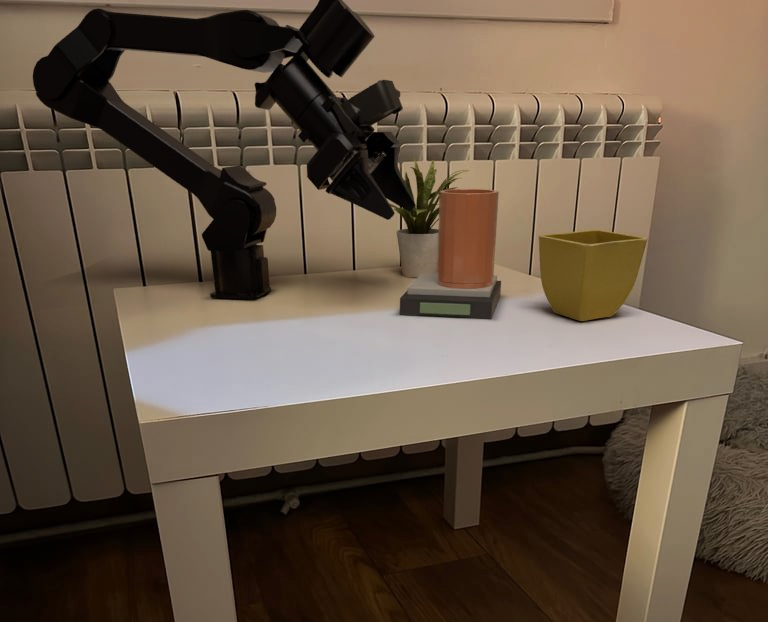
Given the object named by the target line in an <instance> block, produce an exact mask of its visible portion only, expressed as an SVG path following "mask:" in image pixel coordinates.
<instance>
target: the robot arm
mask: <svg viewBox="0 0 768 622" xmlns="http://www.w3.org/2000/svg"><path fill="white" fill-rule="evenodd" d="M375 37H376V36H375V34H374V32H373V31H372V30H371V29H370V27H369V26H368V25H367V24H366V22H365V21H364V19H362V18H361V16H360V15H359V14H358V13H357V12H355V11H354V10H352V8H350V7H349V5H348V4H347V3H345V1H344V0H318V2H317V4H316V6H315V7H314V9H313V10H312V11H311V12H310V13H309V15H308V16H307V18H306V19H305V21H304V22H303V23H302V25H300V27H299V28H297V27H294V26H292V25H289V24H286V25H285V26H281V25H280V24H279V22H277V21H276V20H275V19H273V18H271V17H269V16H266V15H263V14H261V13H259V12H256V11H253V10H249V9H241V10H240V9H239V10H233V11H227V12H220V13H216V14H212V15H209V16H206V17H199V18H194V17H193V18H192V17H182V16H181V17H179V16H169V15H168V16H167V15H156V14H155V15H153V14H142V13H131V12H129V13H128V12H118V11H117V12H115V11H111V10H108V9H103V8H93V9H91V10H90V11H88V13H86V14H85V15H84V17H83V18H82V20H81V21H80V22H79V23H78V25H77V26H76V27H75V28H74V29H73V30H72V31H69V33H68V34H66V35H65V36H64V37H63V38H62V39H60V40H59V41H58V42H56V44H54V45H53V47H52V49H51V50H50V51H49V53H48V54H47V55H45V56H43V57H41V58H39V59H38V60H37V62H36V63H35V65H34V67H33V71H32V83H33V87H34V90H35V97H37V99H38V100H39V101H40V103H41V104H43V105H44V106H45V107H47V108H49V109H50V110H52V111H55V112H57V113H58V114H60V115H63V116H65V117H67V118H69V119H71V120H74V121H77V122H80V123H83V124H85V125H88V126H91V127H94V128H97V129H99V130H101V131H103V132H104V133H105V134H107V136H110V137H111V138H113V140H115V141H117V142H118V143H120V144H121V145H122V146H124V147H125V148H127V149H128V150H130V151H131V152H133V153H134V154H135V155H137V157H139V158H141V159H142V160H144V161H145V162H146V163H148V164H150V165H151V166H152V167H154V168H155V169H157V170H158V171H159V172H161V173H163V175H165V176H167V178H170V179H171V180H172V181H174V182H175V183H177V184H178V185H179V186H181V187H182V188H184V189H185V190H187V191H188V192H189V193H191V194H192V195H193V196H195V197H196V199H197V200H198V201H199V202H200V204H201V206H202V207H203V209H204V211H206V214H208V216H209V217H210V218H211V219H212V220H211V222H209V224H208V225H207V226H206V227H205V229H204V230H203V232H202V233H201V238H202V240H203V242H204V245H205V248H206V249H207V251H209V252H210V259H211V268H212V276H213V285H214V291H212V292H210V293H209V297H210V298H216V299H218V298H219V299H241V300H255V299H258V298H260V297H262V296H263V295H265V294H267V293H269V292H270V291H272V286H271V284H270V283H271V282H270V271H269V259H268V257H267V256H265V252H264V245H263V244H262V243H264V242H265V239H266V234H267V230H268V229H270V228H271V227H272V226H273V224H274V223H275V221H276V217H277V205H276V201H275V197H274V195H273V194H272V193H271V192H270V191H269V190H268V189H267V188H265V187H266V186H267V182H266V181H263V180H259V179H258V178H255V177H254V176H253V175H252V174H251V173H250V172H249V171H247V169H246V168H245V167H243V166H242V165H238V164H237V165H233V166H224V167H222V168H221V169H220V168H219V167H216V166H215V165H213V164H212V163H210V162H209V161H207V160H206V159H205V158H203V156H201V155H199V154H198V153H196V152H195V151H194V150H193V149H190V147H188V146H186V145H185V144H183V143H182V142H181V141H179V140H178V139H176V138H175V137H174V136H172V134H170V133H168V132H167V131H165V130H164V129H162V128H161V127H160V126H158V125H157V124H155V123H154V122H153V121H151V120H150V119H148V118H147V117H146V116H144V115H143V114H141V113H140V112H138V111H137V110H136V109H134V108H133V107H131V106H130V105H129V104H128V103H126V102H125V101H124V100H123V99H122V97H121V96H120V94H118V91H117V90H116V89H115V87H114V85H112V83H111V82H110V80H111V79H112V78H113V77H114V75H115V72H116V69H117V67H118V64H119V62H120V59H121V56H122V55H123V54H124V52H125V51H133V52H144V53H145V52H146V53H155V54H167V55H169V54H170V55H181V56H190V57H191V56H193V57H204V58H207V59H210V60H213V61H216V62H219V63H222V64H226V65H229V66H232V67H235V68H239V69H242V70H247V71H252V72H257V73H258V72H259V73H263V74H265V73H271V74H270V75H269V76H268V78H267V79H266V81H264V82H258V81H256V82H255V83H254V88H255V89H254V90H255V94H254V106H255V108H257V109H262V110H266V111H269V110H271V109H272V108H273V106H274V105H275V104H276V105H277V106H278V107H279V108H280V109H281V110H282V111H283V113H284V114H285V116H286V117H288V119H289V120H290V121H291V122H292V123H293V124H294V126H295V127H296V128H297V129H298V130H299V131H300V133H299V134H298V135H297V137H298V138H299V139H300V141H302V143H304V144H305V143H307V144H309V143H310V144H311V145H312V146H313V148H314V149H315V150H316V152H315V153H314V154H313V156H312V157H311V158H310V159H309V160H308V162H307V163H306V178H307V179H308V180H309V181H310V182H311V183H312V185H313V186H314V187H315V188H316V190H318V191H321V190H325V192H326V193H327V194H329V195H333V196H336V197H338V198H340V199H342V200H344V201H346V202H348V203H350V204H354V205H355V206H357V207H360V208H362V209H364V210H366V211H368V212H370V213H372V214H374V215H376V216H379V217H381V218H383V219H384V220H387V221H389V220H391V219H392V218H393V217H394V216H395V214H396V213H395V210H394V208H393V207H391V205H390V204H391V203H390V202H392V204H394V205H397V207H399V208H404V209H405V210H407V211H409V212H410V211H412V210H413V209H414V208H415V207H416V202H414V201H415V199H414V200H413V198H412V196H411V194H410V192H409V190H408V188H407V185H406V183H405V181H404V180H405V178H404V177H403V175H402V173H401V171H400V168H399V156H400V155H399V154H400V152H401V147H400V145H401V142H400V140H398V139H397V137H396V136H395V135H394V134H393V132H392V131H375V130H376V129H375V128H374V126H373V125H375V124H377V123H378V122H380V121H382V120H383V119H386V118H388V117H389V116H391V115H397V114H398V113H400V112H401V111H403V109H404V108H403V105H402V102H401V99H400V98H401V92H400V90H399V89H397V88H396V86H395V84H394V81H393V80H389V79H381V80H380V79H379V80H377V82H374V83H373V84H371V85H369V86H368V87H366V88H365V89H363V90H361V91H360V92H358V93H356V94H355V95H352V96H351V97H350V98H349V99H348V98H347V97H341V96H337V95H336V94H335V93H334V92H333V91H332V89H331V88H330V87H329V85H327V83H326V82H325V81H324V80H323V79H322V77H321V76H320V75H319V74H318V73H317V72H316V70H315V69H314V68H313V67H312V66H311V64H310V63H309V62H308V61H310V62H311V63H312V64H313V66H314V67H315V68H316V69H317V70H318V71H319V72H320V73H321V74H322V75H324V76H325V77H326V78H328V79H330V78H331V77H332V76H333V73H334V74H335V75H336V76H338V77H339V78H343V77H344V75H346V73H347V72H348V70H349V69H350V68H351V67H352V66H353V64H354V63H355V62H356V61H357V59H358V58H359V57H360V55H361V54H362V53H363V52H365V49H366V48H367V47H368V46H369V45H370V43H372V41H373V40H374V38H375ZM285 59H289V60H288V62H286V63H285V64H284V63H283V62H284V60H285ZM329 179H330V180H331V183H330V181H329ZM389 201H390V202H389ZM389 203H390V204H389Z"/></svg>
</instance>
